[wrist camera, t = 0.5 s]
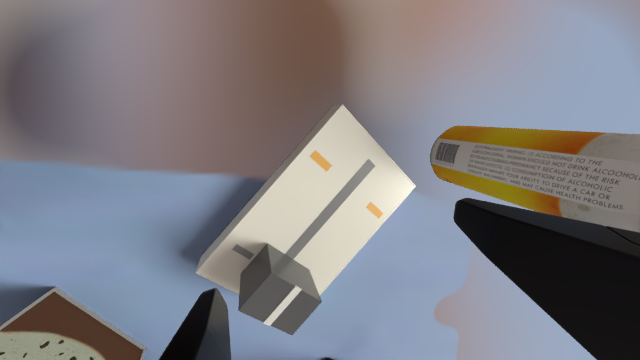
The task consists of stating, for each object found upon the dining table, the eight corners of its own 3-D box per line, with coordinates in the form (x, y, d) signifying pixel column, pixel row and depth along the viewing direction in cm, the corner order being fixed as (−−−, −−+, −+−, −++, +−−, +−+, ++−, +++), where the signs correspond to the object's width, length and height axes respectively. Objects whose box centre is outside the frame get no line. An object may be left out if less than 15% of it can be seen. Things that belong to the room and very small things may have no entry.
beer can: (463, 178, 27) (683, 242, 14) (421, 180, 26) (625, 256, 12) (475, 126, 26) (737, 139, 12) (431, 124, 24) (678, 136, 10)
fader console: (291, 304, 25) (295, 322, 23) (201, 256, 21) (195, 273, 18) (401, 179, 25) (416, 186, 22) (332, 105, 20) (342, 104, 18)
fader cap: (284, 297, 21) (291, 336, 18) (240, 274, 20) (237, 311, 16) (309, 269, 21) (322, 301, 18) (267, 242, 19) (272, 272, 16)
